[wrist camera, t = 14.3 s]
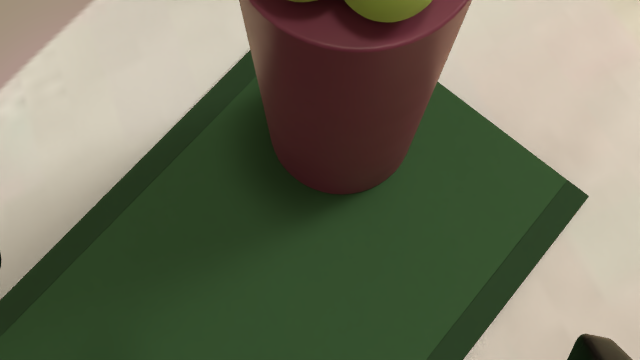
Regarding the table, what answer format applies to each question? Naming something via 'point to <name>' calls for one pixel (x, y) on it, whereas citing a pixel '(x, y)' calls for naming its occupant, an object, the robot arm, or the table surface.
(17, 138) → the table surface
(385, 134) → the grape tub
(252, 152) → the cloth
